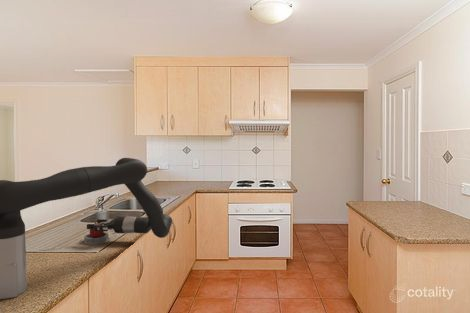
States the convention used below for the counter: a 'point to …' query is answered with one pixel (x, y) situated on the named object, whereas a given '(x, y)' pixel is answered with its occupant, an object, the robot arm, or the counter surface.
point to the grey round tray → (96, 239)
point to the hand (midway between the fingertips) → (92, 224)
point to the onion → (96, 232)
